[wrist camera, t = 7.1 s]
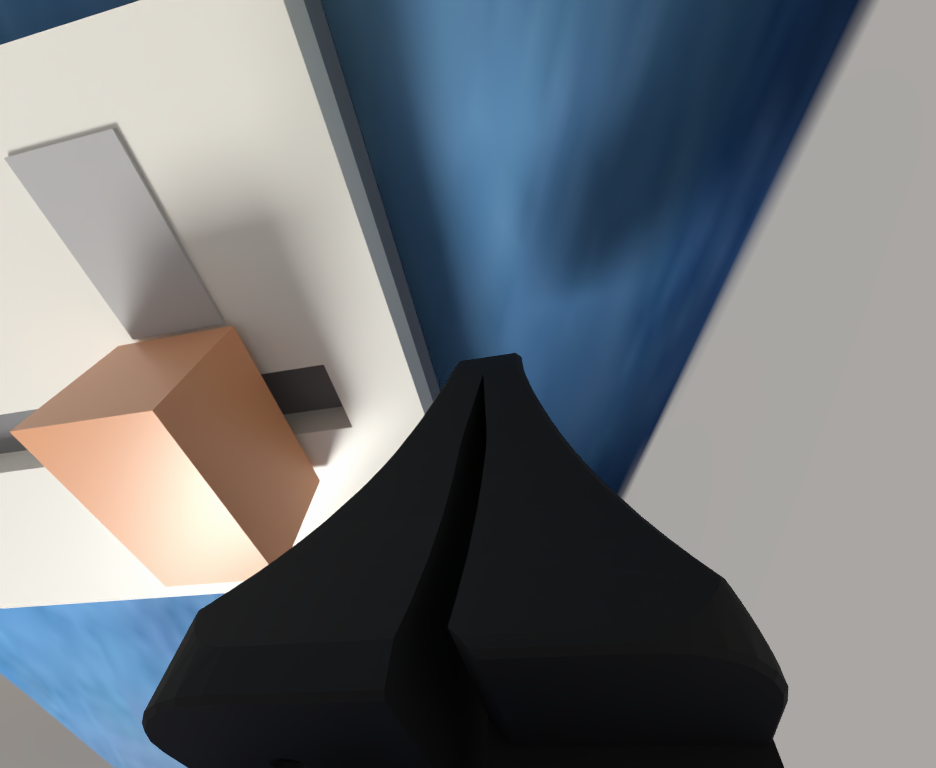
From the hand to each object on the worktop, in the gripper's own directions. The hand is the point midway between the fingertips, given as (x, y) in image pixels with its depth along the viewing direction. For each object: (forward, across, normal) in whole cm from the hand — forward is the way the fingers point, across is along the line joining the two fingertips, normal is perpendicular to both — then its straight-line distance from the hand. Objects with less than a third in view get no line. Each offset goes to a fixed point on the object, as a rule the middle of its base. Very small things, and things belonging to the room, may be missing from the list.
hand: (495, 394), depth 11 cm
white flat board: (+3, +12, 0) cm, 12 cm away
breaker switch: (+1, +7, 0) cm, 7 cm away
